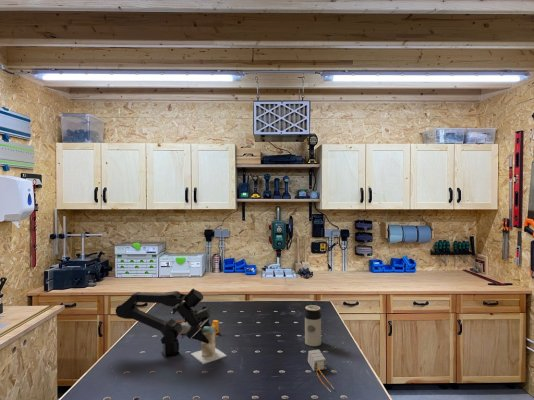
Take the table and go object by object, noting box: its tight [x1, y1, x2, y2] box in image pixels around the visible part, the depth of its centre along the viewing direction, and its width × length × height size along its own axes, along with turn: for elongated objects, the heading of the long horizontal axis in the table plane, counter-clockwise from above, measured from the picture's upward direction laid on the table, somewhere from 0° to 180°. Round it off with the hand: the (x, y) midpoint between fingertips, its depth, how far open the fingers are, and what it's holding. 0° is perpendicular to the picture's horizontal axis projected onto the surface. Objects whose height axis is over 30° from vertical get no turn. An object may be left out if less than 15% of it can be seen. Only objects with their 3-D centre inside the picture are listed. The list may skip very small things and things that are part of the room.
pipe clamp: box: [200, 319, 220, 335], centre depth 182 cm, size 12×4×6 cm, turn 144°
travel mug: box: [304, 304, 322, 347], centre depth 172 cm, size 8×8×18 cm
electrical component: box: [307, 349, 335, 393], centre depth 141 cm, size 24×6×5 cm, turn 16°
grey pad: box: [190, 347, 227, 365], centre depth 159 cm, size 12×12×1 cm
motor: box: [178, 320, 191, 335], centre depth 192 cm, size 23×22×5 cm
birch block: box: [201, 325, 216, 357], centre depth 159 cm, size 5×5×12 cm
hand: (211, 338), depth 159 cm, fingers open, 9 cm apart
